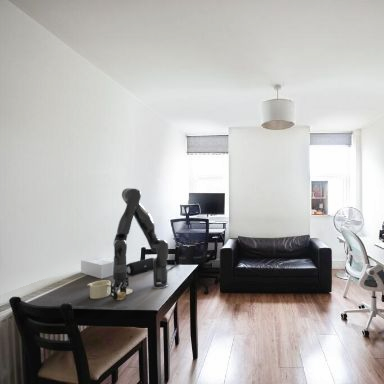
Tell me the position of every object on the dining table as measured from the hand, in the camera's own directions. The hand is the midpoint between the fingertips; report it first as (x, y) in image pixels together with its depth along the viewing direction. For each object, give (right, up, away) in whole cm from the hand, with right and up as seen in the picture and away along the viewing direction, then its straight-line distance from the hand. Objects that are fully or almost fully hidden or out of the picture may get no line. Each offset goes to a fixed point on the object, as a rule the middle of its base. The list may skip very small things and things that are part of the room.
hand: (120, 296), depth 165 cm
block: (0, -2, +1) cm, 2 cm away
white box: (-48, -3, +56) cm, 73 cm away
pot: (-16, -2, +7) cm, 18 cm away
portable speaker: (-12, -3, +59) cm, 60 cm away
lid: (-4, -1, +10) cm, 11 cm away
